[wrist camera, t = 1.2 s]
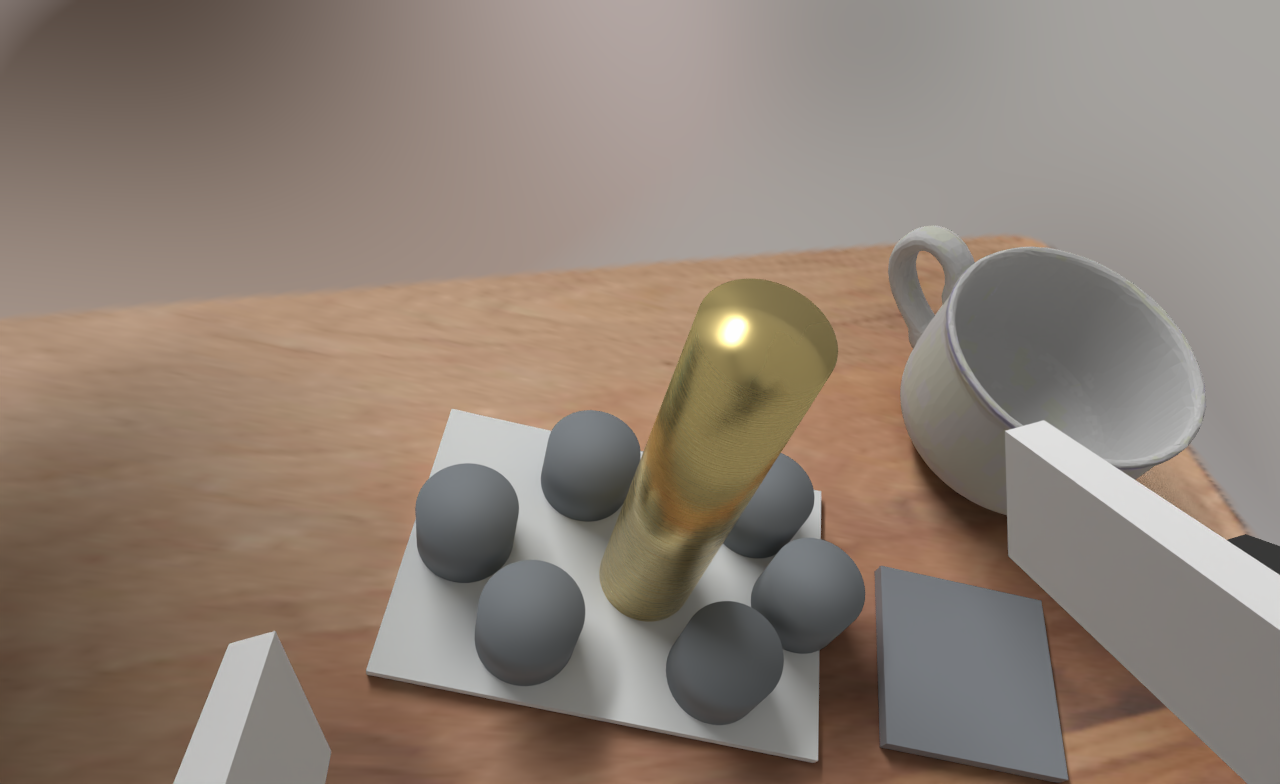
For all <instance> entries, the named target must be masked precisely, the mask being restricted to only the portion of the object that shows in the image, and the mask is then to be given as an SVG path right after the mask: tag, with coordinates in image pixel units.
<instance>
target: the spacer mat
mask: <svg viewBox="0 0 1280 784" xmlns="http://www.w3.org/2000/svg"><path fill="white" fill-rule="evenodd" d="M642 454H643V451H640V446H639V442H638V440H637V438H636V436H635V434H634V433H633V431H632V430H631V429H630V428H629V426H628V425H627V424H625V423H624V422H623V421H622V420H620V419H619V418H617V417H615V416H613V415H611V414H608V413H605V412H601V411H593V410H587V411H579V412H576V413H572V414H570V415H568V416H566V417H564V418H563V419H562V420H560V421H559V422H558V423H557V424H556V425H555V427H554V428H553V429H552V431H549V430H544V429H540V428H535V427H531V426H526V425H522V424H518V423H513V422H509V421H504V420H500V419H495V418H491V417H486V416H482V415H477V414H473V413H468V412H464V411H459V410H455V409H452V410H451V413H450V416H449V419H448V422H447V425H446V428H445V431H444V434H443V437H442V440H441V443H440V446H439V450H438V453H437V456H436V459H435V462H434V465H433V468H432V471H431V474H430V477H429V479H428V480H427V481H426V483H425V484H424V485H423V487H422V488H421V490H420V492H419V495H418V497H417V501H416V520H415V523H414V526H413V529H412V532H411V535H410V538H409V541H408V544H407V547H406V550H405V553H404V556H403V559H402V562H401V565H400V568H399V572H398V575H397V578H396V581H395V584H394V587H393V590H392V593H391V596H390V599H389V602H388V605H387V608H386V611H385V614H384V617H383V620H382V623H381V626H380V629H379V633H378V636H377V639H376V642H375V645H374V648H373V651H372V654H371V657H370V660H369V663H368V666H367V669H366V674H367V675H372V676H377V677H382V678H387V679H392V680H397V681H402V682H407V683H412V684H417V685H422V686H427V687H432V688H437V689H443V690H448V691H453V692H458V693H463V694H468V695H473V696H478V697H483V698H488V699H493V700H498V701H503V702H508V703H513V704H518V705H523V706H528V707H533V708H538V709H544V710H549V711H554V712H559V713H564V714H569V715H574V716H579V717H584V718H589V719H594V720H599V721H604V722H609V723H614V724H619V725H624V726H629V727H634V728H639V729H645V730H650V731H655V732H660V733H665V734H670V735H675V736H680V737H685V738H690V739H695V740H700V741H705V742H710V743H715V744H720V745H725V746H730V747H735V748H740V749H746V750H751V751H756V752H761V753H766V754H771V755H776V756H781V757H786V758H791V759H796V760H801V761H806V762H811V763H815V762H817V761H818V727H819V650H821V649H823V648H824V647H825V646H827V645H828V644H829V643H830V642H831V641H832V640H833V639H835V638H836V637H837V636H838V635H839V634H840V633H841V632H842V631H844V630H845V629H846V628H847V627H848V626H849V625H850V624H851V623H852V622H853V621H855V620H856V618H857V617H858V616H859V614H860V613H861V611H862V608H863V605H864V601H865V586H864V582H863V579H862V576H861V573H860V571H859V569H858V568H857V566H856V564H855V563H854V562H853V560H852V559H851V558H850V557H849V556H848V555H847V554H846V553H845V552H844V551H843V550H841V549H840V548H839V547H837V546H835V545H834V544H832V543H830V542H827V541H825V540H821V491H817V490H813V486H812V483H811V481H810V479H809V477H808V475H807V474H806V472H805V471H804V470H803V468H802V467H801V466H800V465H799V464H798V463H796V462H795V461H794V460H793V459H791V458H790V457H788V456H786V455H784V454H782V453H780V455H779V456H778V458H777V459H776V461H775V462H774V464H773V466H772V467H771V469H770V470H769V472H768V473H767V475H766V477H765V478H764V480H763V481H762V483H761V484H760V486H759V488H758V489H757V491H756V492H755V494H754V495H753V497H752V499H751V500H750V502H749V503H748V505H747V506H746V508H745V509H744V511H743V513H742V514H741V516H740V517H739V519H738V520H737V522H736V524H735V525H734V527H733V528H732V530H731V531H730V533H729V535H728V536H727V538H726V539H725V541H724V542H723V544H722V546H721V547H720V549H719V550H718V552H717V553H716V555H715V557H714V558H713V560H712V561H711V563H710V564H709V566H708V568H707V569H706V571H705V572H704V574H703V575H702V577H701V579H700V580H699V582H698V583H697V585H696V586H695V588H694V589H693V591H692V593H691V594H690V596H689V597H688V599H687V600H686V602H685V603H684V605H683V606H682V607H681V608H680V610H679V611H677V612H676V613H675V614H673V615H672V616H670V617H668V618H666V619H663V620H659V621H652V622H647V621H639V620H635V619H632V618H630V617H627V616H626V615H624V614H622V613H621V612H619V611H618V610H617V609H616V608H615V607H614V606H613V605H612V604H611V603H610V602H609V601H608V599H607V598H606V596H605V594H604V592H603V590H602V587H601V583H600V576H599V571H600V564H601V560H602V558H603V555H604V553H605V550H606V547H607V545H608V542H609V540H610V537H611V535H612V532H613V529H614V527H615V524H616V522H617V519H618V516H619V514H620V511H621V509H622V506H623V503H624V501H625V498H626V496H627V493H628V490H629V488H630V485H631V483H632V480H633V478H634V475H635V472H636V470H637V467H638V465H639V462H640V459H641V457H642Z"/></svg>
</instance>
